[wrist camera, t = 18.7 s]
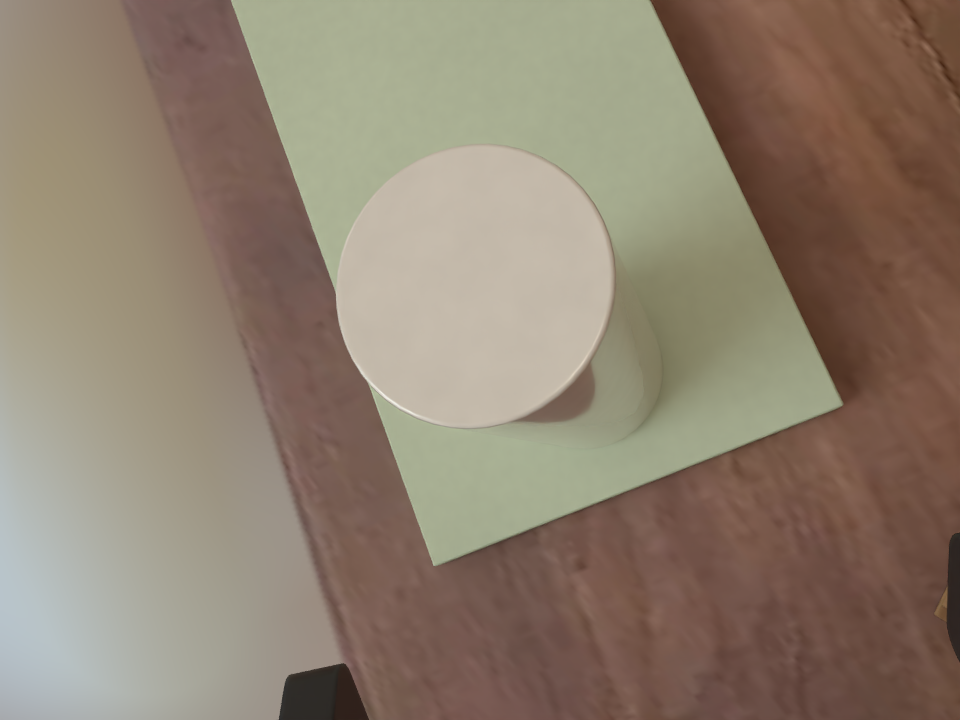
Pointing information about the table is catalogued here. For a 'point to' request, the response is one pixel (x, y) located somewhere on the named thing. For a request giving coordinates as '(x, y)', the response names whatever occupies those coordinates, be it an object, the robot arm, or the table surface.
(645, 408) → the canister
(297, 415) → the table surface
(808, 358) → the pale green flat board
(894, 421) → the table surface
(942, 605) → the wooden box
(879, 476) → the table surface
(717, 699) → the table surface
